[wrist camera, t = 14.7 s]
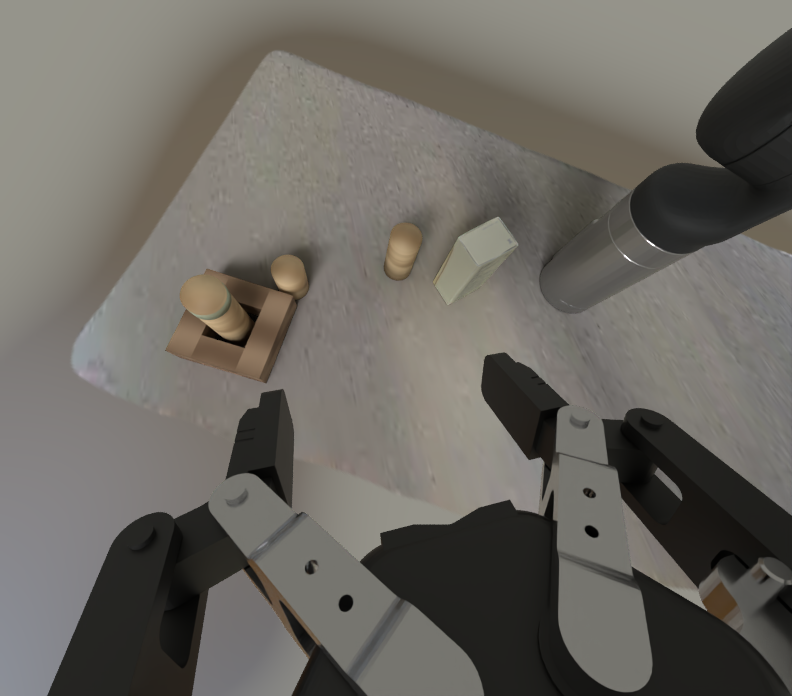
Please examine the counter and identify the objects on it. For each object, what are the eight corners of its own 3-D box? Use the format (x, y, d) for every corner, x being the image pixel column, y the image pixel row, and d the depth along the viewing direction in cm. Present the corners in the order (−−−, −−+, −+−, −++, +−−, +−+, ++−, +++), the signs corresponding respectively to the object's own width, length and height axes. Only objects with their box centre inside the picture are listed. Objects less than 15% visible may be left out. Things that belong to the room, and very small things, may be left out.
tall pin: (232, 312, 44) (190, 268, 32) (262, 322, 44) (232, 281, 33) (219, 341, 43) (171, 305, 31) (250, 350, 43) (214, 319, 31)
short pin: (285, 269, 46) (277, 250, 42) (312, 278, 47) (308, 260, 42) (274, 294, 45) (265, 278, 40) (302, 303, 46) (297, 288, 41)
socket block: (217, 281, 45) (206, 268, 41) (297, 306, 45) (292, 295, 42) (179, 357, 41) (165, 350, 38) (266, 383, 42) (259, 378, 39)
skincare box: (464, 265, 51) (499, 213, 39) (480, 288, 50) (521, 244, 38) (430, 283, 49) (456, 235, 37) (447, 307, 48) (478, 267, 37)
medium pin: (388, 252, 49) (395, 218, 42) (413, 260, 50) (425, 228, 42) (380, 275, 48) (386, 244, 41) (406, 284, 48) (417, 255, 41)
